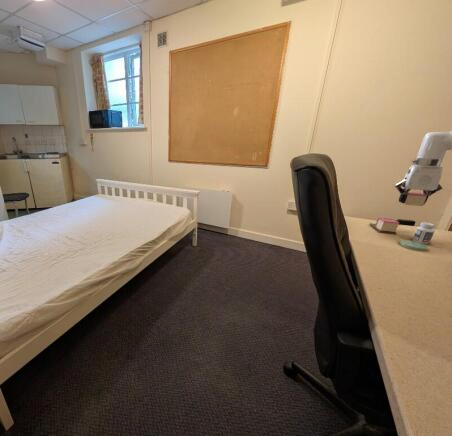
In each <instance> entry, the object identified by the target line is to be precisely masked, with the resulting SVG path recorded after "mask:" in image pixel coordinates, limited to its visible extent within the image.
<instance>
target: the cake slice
mask: <svg viewBox="0 0 452 436" xmlns="http://www.w3.org/2000/svg"><path fill="white" fill-rule="evenodd" d="M406 195H407V198H406V201H405V203H401V204H402V205H404V206H415V207H424V205H425V204H424V202H425V200H426V197H427V195H425V194H423V192H422V193H421V192H414V191H413V192H411V191H409V192H408V193H407V194H406ZM423 204H424V205H423Z"/></svg>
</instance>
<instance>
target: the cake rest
mask: <svg viewBox="0 0 452 436" xmlns="http://www.w3.org/2000/svg"><path fill="white" fill-rule="evenodd" d="M378 218H379V221H378V223H377V226H376V227H377V228H378V229H379V230H382V231H391V232H396V233H397V230H398V227H399V226H400V225H399V222H397V221H395V220H396V219H394V220H392V219H393V218H388V219H381V218H382V217H378Z"/></svg>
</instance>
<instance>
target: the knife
mask: <svg viewBox="0 0 452 436" xmlns="http://www.w3.org/2000/svg"><path fill="white" fill-rule="evenodd" d="M379 218H381V219H389V218H385V217H377V220H376V222H375V224H376V225H375V227H376V226H377V223H378V221H379ZM391 219H392V220H395V221H397V222H399V225H398V226H407V227H408V226H409V227H414V226H415V225H416V223H417V221H415V220H412V219H404V218H403V219H402V218H397V219H394V218H391Z"/></svg>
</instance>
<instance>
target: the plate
mask: <svg viewBox="0 0 452 436" xmlns="http://www.w3.org/2000/svg"><path fill="white" fill-rule="evenodd" d="M399 245H401V247H404V248H407V249H410V250H414V251H419V252H425V251H427V249H428V246H427V244H423V243H418V242H415V241H413V240H408V239H402V240H400V242H399Z"/></svg>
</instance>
